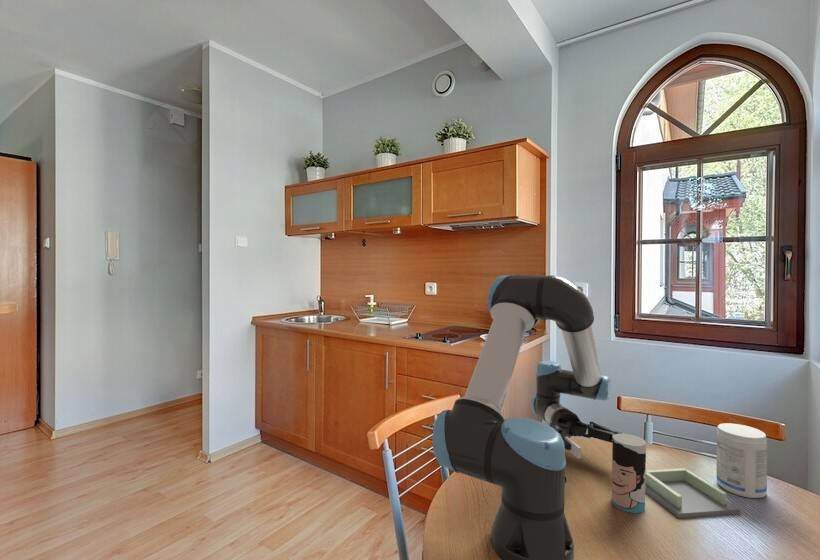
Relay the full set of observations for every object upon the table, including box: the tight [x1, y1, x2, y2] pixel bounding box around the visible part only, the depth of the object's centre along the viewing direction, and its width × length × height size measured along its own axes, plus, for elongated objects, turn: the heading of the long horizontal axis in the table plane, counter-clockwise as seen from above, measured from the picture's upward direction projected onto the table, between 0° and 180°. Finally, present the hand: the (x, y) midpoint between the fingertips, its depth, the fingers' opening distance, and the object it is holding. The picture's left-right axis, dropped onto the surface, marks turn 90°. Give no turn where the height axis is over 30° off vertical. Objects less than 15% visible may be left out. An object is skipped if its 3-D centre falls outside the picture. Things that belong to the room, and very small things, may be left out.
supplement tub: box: [716, 422, 768, 499], centre depth 97 cm, size 10×10×15 cm
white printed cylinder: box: [611, 433, 647, 514], centre depth 90 cm, size 7×7×15 cm
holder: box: [645, 467, 741, 519], centre depth 94 cm, size 15×15×4 cm
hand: (604, 451), depth 100 cm, fingers open, 13 cm apart
